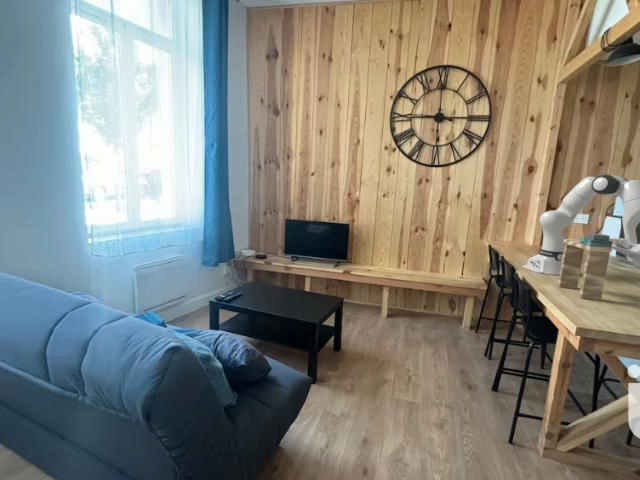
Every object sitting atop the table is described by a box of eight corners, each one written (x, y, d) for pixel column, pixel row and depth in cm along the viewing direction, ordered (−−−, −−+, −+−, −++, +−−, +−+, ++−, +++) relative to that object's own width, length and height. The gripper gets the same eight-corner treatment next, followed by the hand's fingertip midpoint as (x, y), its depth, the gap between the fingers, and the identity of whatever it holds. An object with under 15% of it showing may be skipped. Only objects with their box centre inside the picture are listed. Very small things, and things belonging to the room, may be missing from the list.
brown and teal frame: (556, 286, 193) (565, 233, 187) (575, 287, 192) (584, 234, 187) (580, 298, 173) (591, 240, 167) (602, 300, 172) (613, 241, 167)
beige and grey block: (620, 243, 173) (621, 235, 172) (628, 245, 168) (629, 236, 168) (585, 241, 174) (587, 233, 173) (592, 243, 169) (594, 235, 169)
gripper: (626, 245, 181) (604, 231, 180) (661, 254, 161) (636, 238, 160) (617, 256, 182) (595, 241, 181) (651, 265, 162) (627, 249, 161)
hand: (615, 240), depth 171 cm, fingers closed on beige and grey block, 3 cm apart
